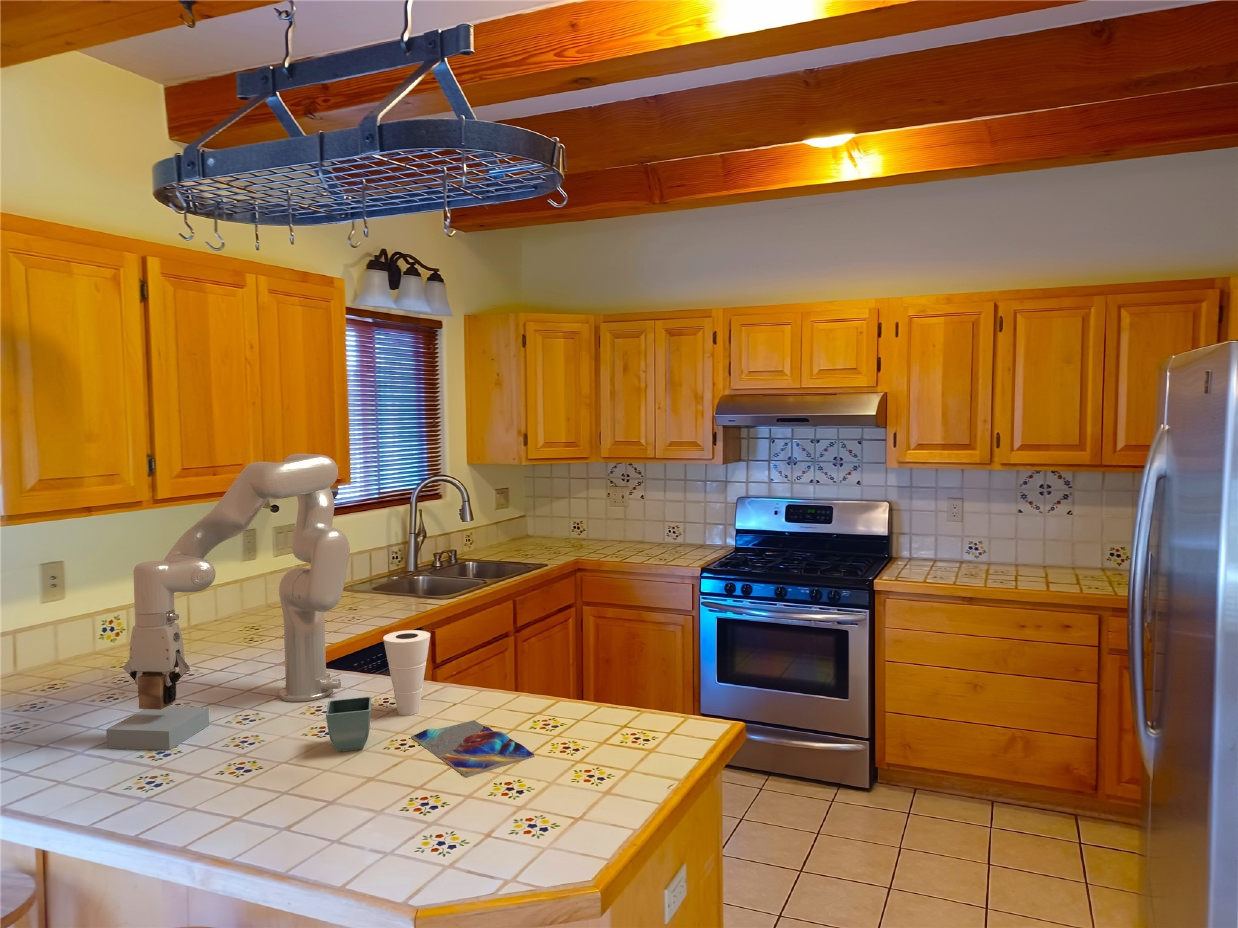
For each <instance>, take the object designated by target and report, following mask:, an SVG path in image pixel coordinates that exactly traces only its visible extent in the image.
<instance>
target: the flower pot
mask: <svg viewBox="0 0 1238 928" xmlns="http://www.w3.org/2000/svg"><path fill="white" fill-rule="evenodd" d="M371 711H372V696H363V697H362V696H360V697H352V698H344V699H343V698H342V699H334V700H333V699H332V700H329V701H327V708H326V712H325V718H326V725H327V731H328V736H329V739H330V742H331V744H332V745H333V747H334V749H335V750H336V751H337V752H348V751H349V752H350V751H357V750H363V749H364V747H365V745H366V743H367V741H368V739H369V734H370V729H371V728H370V727H371V726H370V725H371V715H372V713H371Z"/></svg>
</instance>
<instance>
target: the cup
mask: <svg viewBox="0 0 1238 928" xmlns="http://www.w3.org/2000/svg"><path fill="white" fill-rule="evenodd" d="M382 639H383V645H384V648H385V654H386V659H387V662H388V668H389V673H390V679H391V684H392V687H393V694H394V700H395V703H396V705H395V706H396V711H397V714H398V715H399V716H412V715H413V716H414V715H417V714H418V713H419V712H420V707H421V701H422V695H423V694H422V693H423V685H424V679H425V673H426V666H427V659H428V654H429V647H430V640H431V633H430V632H428V631H426V630H419V629H418V630H417V629H415V630H414V629H413V630H412V629H411V630H407V629H406V630H399V631H398V630H397V631H393V632H390V633H388V634H385V635H384V636H383V638H382Z"/></svg>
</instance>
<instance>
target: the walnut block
mask: <svg viewBox="0 0 1238 928" xmlns="http://www.w3.org/2000/svg"><path fill="white" fill-rule="evenodd" d="M170 676H171V675H170ZM164 686H166V683H165V680H164V676H163V673H160V672H147V673H145V674H143V675H141V676H138V685H137V692H138V691H139V697H138V709H139V710H144V709H156V710H161V709H163V708H165V707H167V706H169V707H170V705H172V704H174V703H176V701H177V700H176V699H175V701H173V702H171V703H169V704H164Z"/></svg>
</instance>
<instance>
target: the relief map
mask: <svg viewBox="0 0 1238 928" xmlns="http://www.w3.org/2000/svg"><path fill="white" fill-rule="evenodd" d="M410 739H412V740H413V741H415V742H416V743H417V744H418V745H420V746H422V747H423V748H424V749H426V750H427V751H428V752H430V753H432V754H433V755H434V756H435V757H438V758H439V759H440V760H441V761H443V762H444V763H446V764H448V765H449V766H450V767H451V768H453V769H454V770H455V771H457V772H459V773H460V774H461V775H463V776H464V777H466V778H470V777H473V776H477V775H480V774H483V773H486V772H491V771H493V770H496V769H499V768H502V767H506V766H510V765H512V764H515V763H518V762H522V761H526V760H529V759H532V758H535V753H533V752H532V751H530V750H529V749H528V748H527V747H525V746H524V745H523V744H521V743H520V742H519V743H518V742H517V741H516V740H514V739H512V738H511V737H509V736H508V735H507V734H506V733H505V732H503V731H500V730H493V729H492V728H491V727H489V726H486V725H484V724H481V723H480V722H478V721H476V720H475V719H473V720H469V721H465V722H461V723H458V724H453V725H449V726H445V727H441V728H440V727H439V728H427V729H425V730H422V731H420V732H418V733H416V734H414V735H411V736H410Z"/></svg>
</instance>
